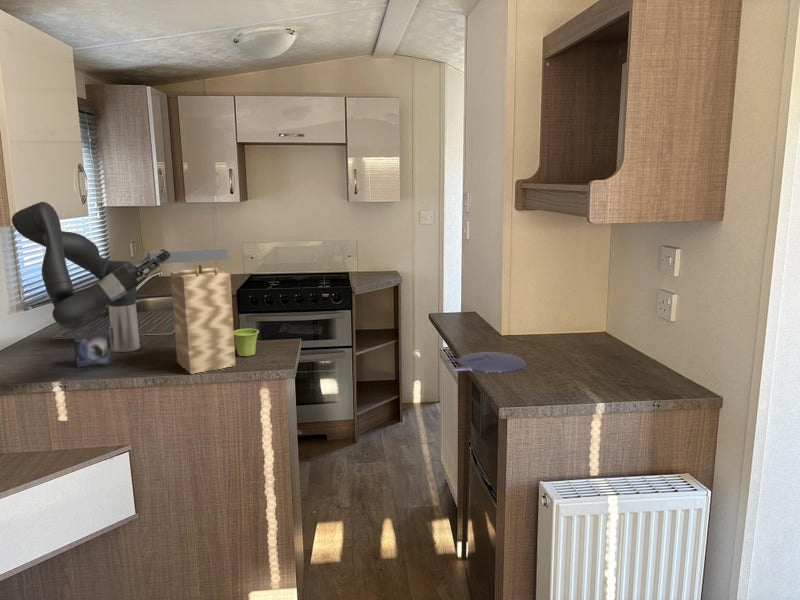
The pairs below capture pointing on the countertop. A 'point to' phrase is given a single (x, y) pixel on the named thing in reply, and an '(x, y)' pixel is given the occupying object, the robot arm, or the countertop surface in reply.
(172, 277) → the oak block
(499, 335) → the countertop surface
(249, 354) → the plant pot
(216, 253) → the bar
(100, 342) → the small box
